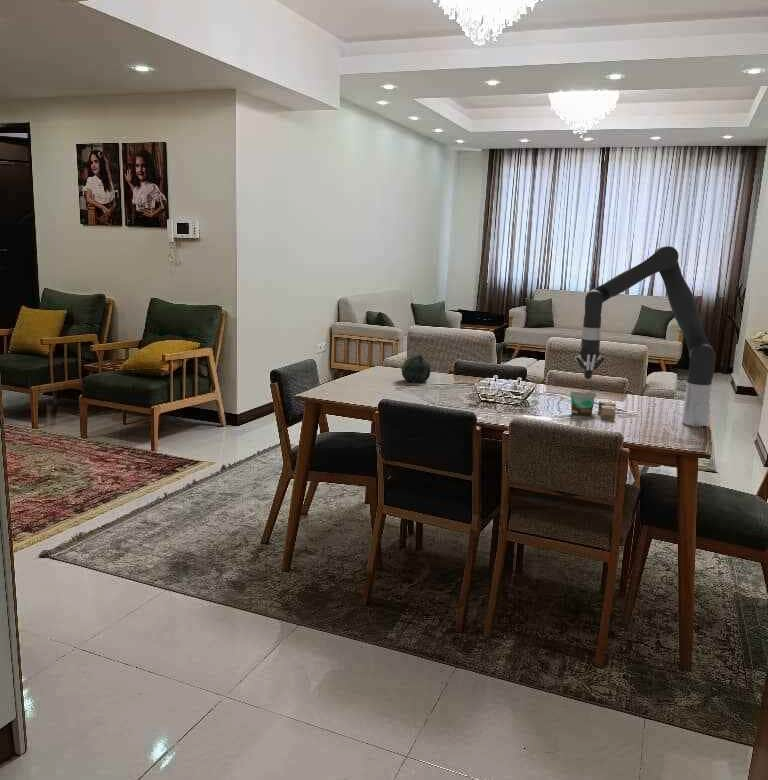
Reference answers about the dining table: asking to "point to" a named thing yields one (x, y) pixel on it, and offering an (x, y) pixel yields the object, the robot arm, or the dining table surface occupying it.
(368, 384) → the dining table surface
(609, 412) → the marked block
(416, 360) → the squash
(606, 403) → the marked block
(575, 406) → the food container
